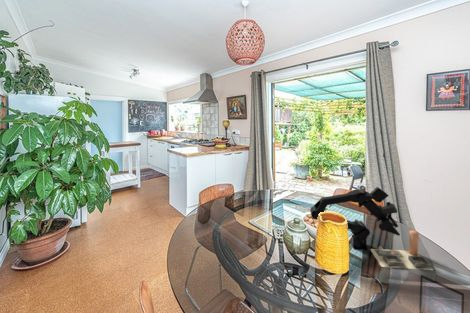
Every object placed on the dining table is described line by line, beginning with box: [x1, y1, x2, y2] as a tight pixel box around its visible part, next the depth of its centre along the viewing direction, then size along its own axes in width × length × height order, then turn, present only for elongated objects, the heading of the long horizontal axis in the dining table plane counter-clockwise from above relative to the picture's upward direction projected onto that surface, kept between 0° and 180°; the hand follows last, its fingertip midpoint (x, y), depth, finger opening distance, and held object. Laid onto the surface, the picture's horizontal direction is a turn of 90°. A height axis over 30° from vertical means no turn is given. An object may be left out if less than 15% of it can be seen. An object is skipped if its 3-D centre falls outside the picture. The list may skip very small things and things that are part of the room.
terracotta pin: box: [408, 229, 419, 256], centre depth 105 cm, size 4×4×12 cm
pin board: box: [369, 248, 434, 271], centre depth 104 cm, size 21×14×3 cm
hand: (398, 230), depth 108 cm, fingers open, 9 cm apart
